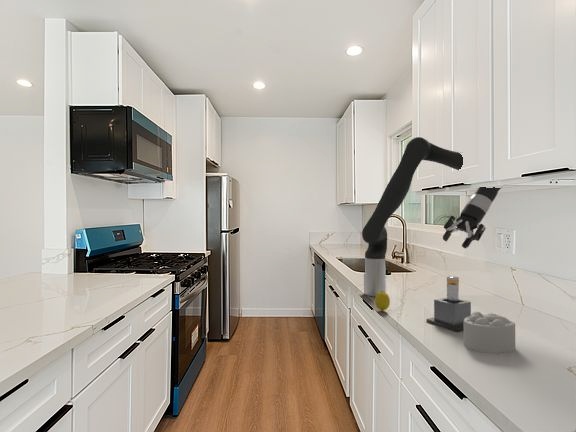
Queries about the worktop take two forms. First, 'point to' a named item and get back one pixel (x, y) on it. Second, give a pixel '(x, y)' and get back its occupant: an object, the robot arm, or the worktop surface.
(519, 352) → the worktop surface
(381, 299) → the lemon
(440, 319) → the dark grey open bin
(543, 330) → the worktop surface
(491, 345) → the lumpy-topped squat cylinder
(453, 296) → the silver copper-banded cylinder
